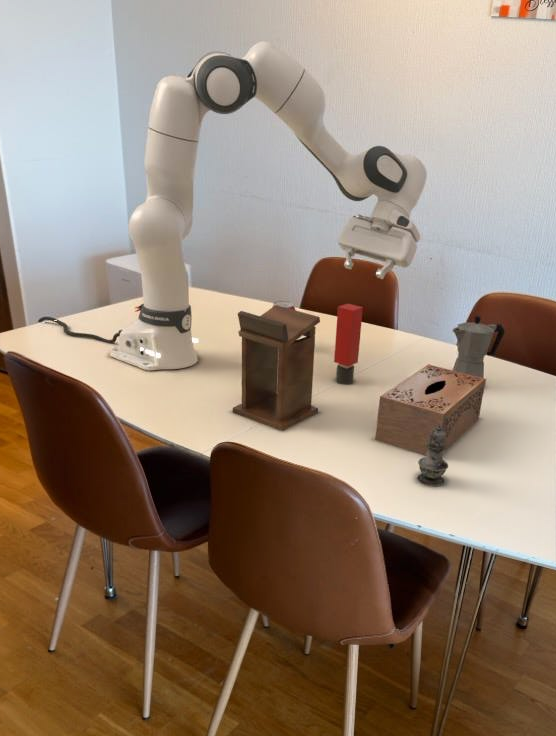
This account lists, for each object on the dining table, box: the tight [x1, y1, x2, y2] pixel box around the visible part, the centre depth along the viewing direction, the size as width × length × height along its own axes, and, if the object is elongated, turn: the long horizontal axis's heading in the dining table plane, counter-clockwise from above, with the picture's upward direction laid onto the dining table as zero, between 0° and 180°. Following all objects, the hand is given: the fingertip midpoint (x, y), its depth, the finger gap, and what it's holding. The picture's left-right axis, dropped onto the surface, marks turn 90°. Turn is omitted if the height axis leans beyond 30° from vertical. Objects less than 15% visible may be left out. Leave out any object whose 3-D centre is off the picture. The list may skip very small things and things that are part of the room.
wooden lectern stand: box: [232, 305, 321, 432], centre depth 156 cm, size 14×14×23 cm
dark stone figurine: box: [417, 424, 449, 487], centre depth 137 cm, size 6×6×12 cm
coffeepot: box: [452, 315, 506, 378], centre depth 184 cm, size 15×9×18 cm, turn 113°
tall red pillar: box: [333, 303, 364, 385], centre depth 178 cm, size 20×4×9 cm
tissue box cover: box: [374, 363, 487, 456], centre depth 159 cm, size 26×14×10 cm, turn 151°
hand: (362, 272), depth 174 cm, fingers open, 8 cm apart
